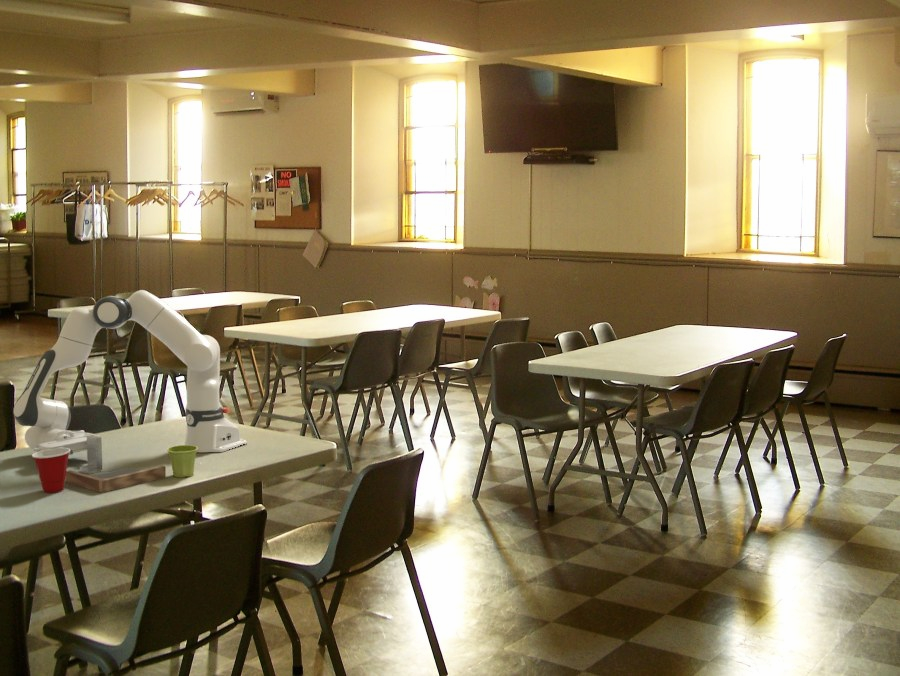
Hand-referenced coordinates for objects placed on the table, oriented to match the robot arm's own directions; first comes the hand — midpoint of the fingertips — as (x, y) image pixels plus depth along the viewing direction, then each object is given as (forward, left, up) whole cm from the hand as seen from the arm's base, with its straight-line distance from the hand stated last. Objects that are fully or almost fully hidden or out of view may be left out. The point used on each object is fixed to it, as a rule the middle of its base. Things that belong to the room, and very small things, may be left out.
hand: (84, 449), depth 347 cm
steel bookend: (+2, +6, -6) cm, 8 cm away
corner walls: (+3, +21, -6) cm, 22 cm away
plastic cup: (+22, +17, -6) cm, 29 cm away
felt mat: (+2, +20, -6) cm, 21 cm away
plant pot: (-13, +33, -6) cm, 36 cm away
